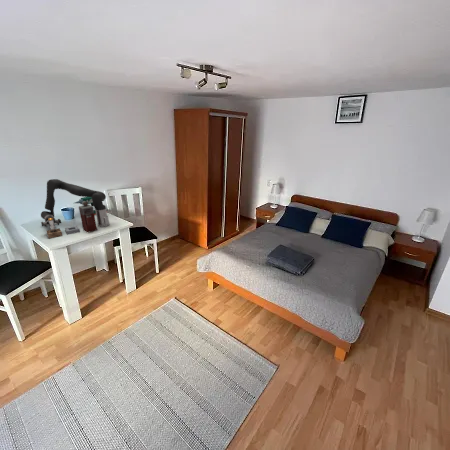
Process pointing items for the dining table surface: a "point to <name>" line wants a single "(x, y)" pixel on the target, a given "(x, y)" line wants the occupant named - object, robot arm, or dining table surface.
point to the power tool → (87, 199)
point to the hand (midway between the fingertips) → (52, 224)
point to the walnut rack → (54, 233)
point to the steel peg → (52, 224)
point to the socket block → (72, 230)
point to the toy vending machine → (87, 217)
